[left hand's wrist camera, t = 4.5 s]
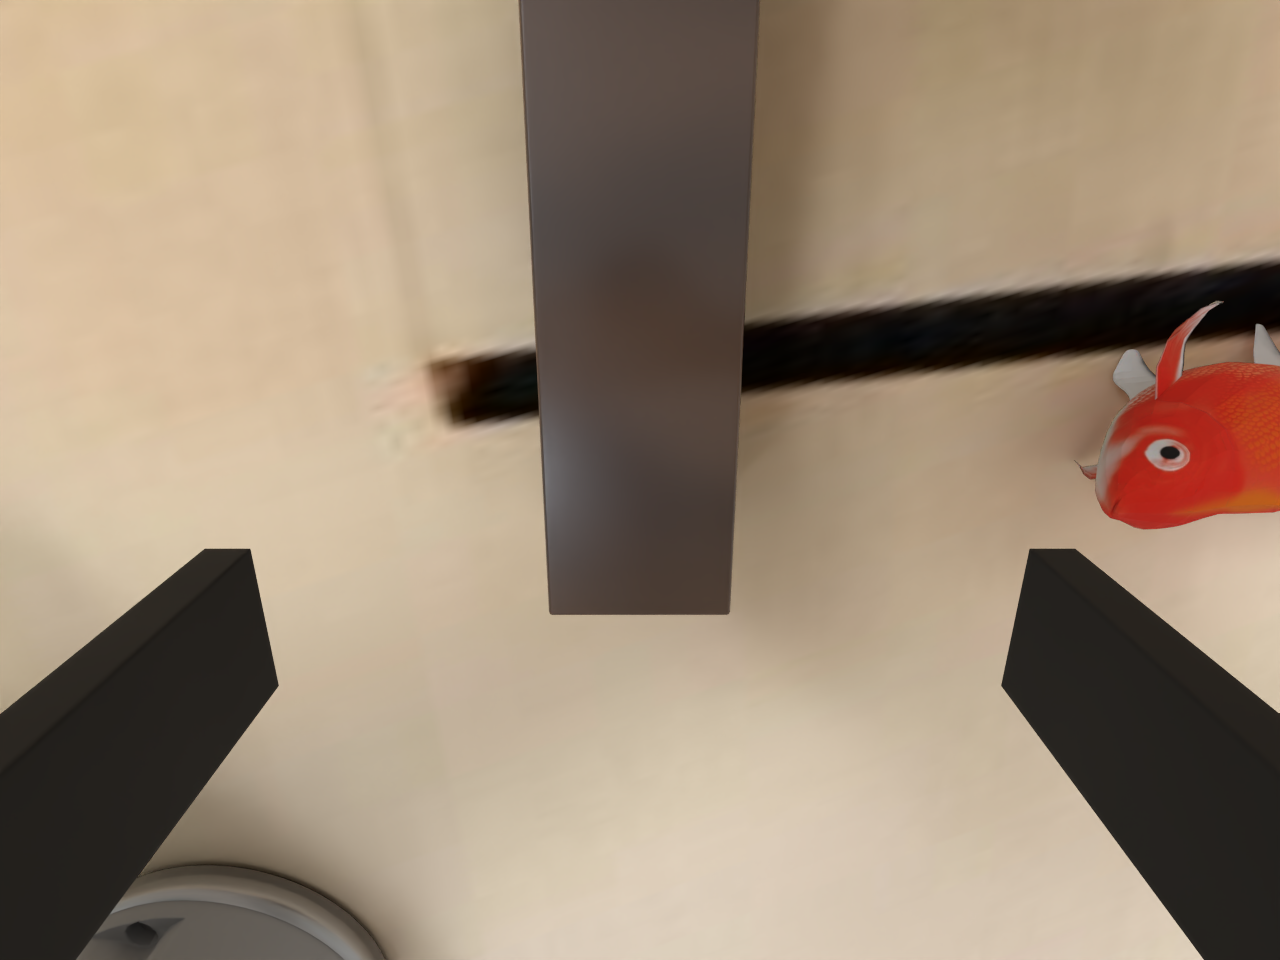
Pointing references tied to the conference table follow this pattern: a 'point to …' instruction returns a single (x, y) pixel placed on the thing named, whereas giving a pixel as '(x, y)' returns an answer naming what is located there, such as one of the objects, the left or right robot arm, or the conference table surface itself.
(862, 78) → the conference table surface
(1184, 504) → the fish
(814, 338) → the conference table surface
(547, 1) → the walnut box
